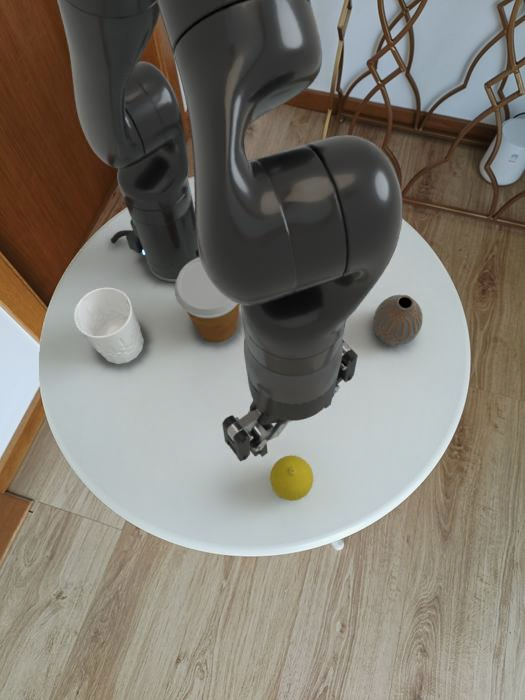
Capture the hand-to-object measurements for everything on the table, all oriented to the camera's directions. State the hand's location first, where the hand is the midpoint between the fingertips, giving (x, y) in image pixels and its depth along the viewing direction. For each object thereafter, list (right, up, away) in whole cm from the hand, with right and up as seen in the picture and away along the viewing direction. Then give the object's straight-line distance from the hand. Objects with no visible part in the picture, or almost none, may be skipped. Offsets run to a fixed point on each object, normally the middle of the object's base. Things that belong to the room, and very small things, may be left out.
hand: (290, 423), depth 57 cm
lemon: (+1, -10, +15) cm, 18 cm away
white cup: (-24, +9, +25) cm, 36 cm away
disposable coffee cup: (-10, +12, +26) cm, 30 cm away
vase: (+17, +11, +25) cm, 32 cm away
